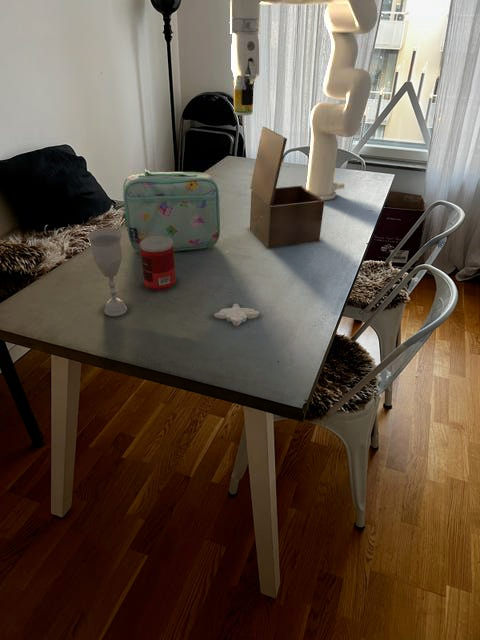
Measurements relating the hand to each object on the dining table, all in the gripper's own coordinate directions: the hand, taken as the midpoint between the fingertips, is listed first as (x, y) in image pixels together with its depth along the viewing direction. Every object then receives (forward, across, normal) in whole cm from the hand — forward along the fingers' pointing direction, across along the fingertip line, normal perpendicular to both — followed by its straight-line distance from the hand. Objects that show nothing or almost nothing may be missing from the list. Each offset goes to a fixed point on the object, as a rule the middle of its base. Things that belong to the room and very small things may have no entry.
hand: (243, 102), depth 131 cm
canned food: (+35, -33, +33) cm, 58 cm away
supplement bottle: (+3, 0, 0) cm, 3 cm away
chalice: (+35, -42, +45) cm, 71 cm away
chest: (+35, -14, -9) cm, 39 cm away
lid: (+14, -15, -2) cm, 20 cm away
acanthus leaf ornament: (+35, -53, +20) cm, 66 cm away
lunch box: (+35, -13, +25) cm, 45 cm away
